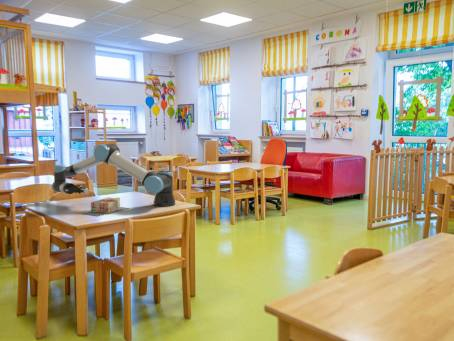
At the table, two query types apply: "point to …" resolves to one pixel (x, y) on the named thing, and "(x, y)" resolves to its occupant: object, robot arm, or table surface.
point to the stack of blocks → (105, 205)
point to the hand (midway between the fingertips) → (87, 191)
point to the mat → (104, 213)
